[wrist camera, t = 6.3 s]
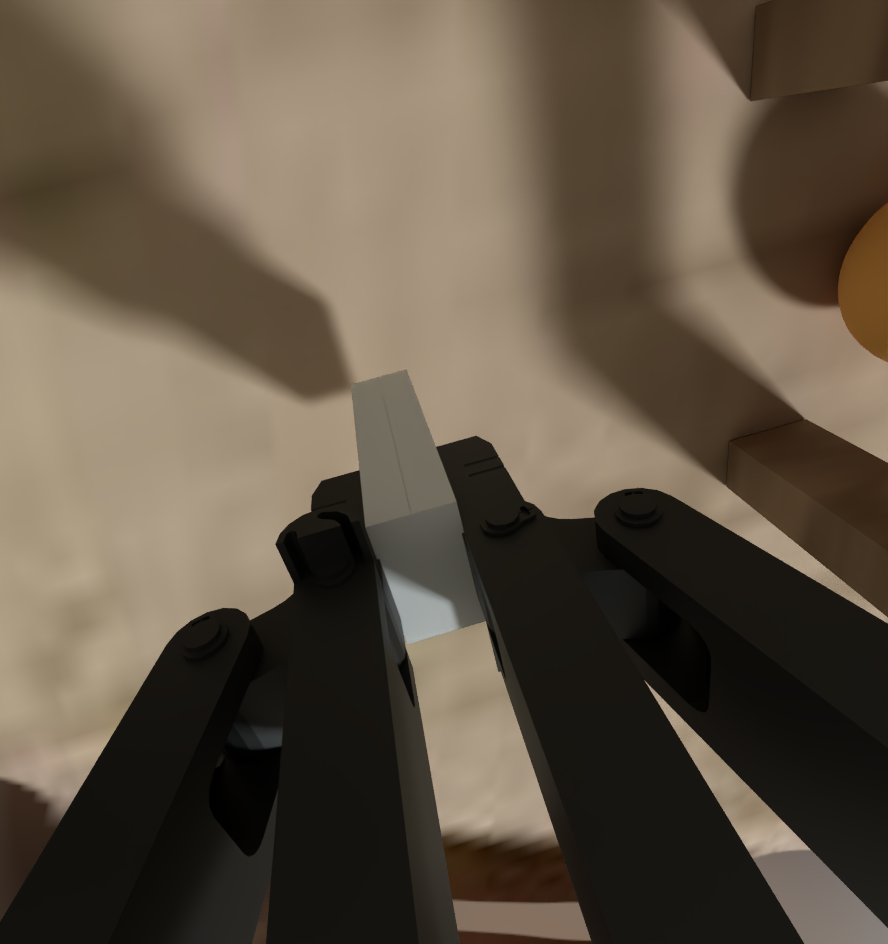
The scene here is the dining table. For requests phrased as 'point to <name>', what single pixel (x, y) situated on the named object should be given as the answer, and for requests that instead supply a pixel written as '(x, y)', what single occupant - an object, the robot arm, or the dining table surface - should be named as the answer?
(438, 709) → the dining table surface
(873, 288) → the ball
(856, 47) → the bridge
